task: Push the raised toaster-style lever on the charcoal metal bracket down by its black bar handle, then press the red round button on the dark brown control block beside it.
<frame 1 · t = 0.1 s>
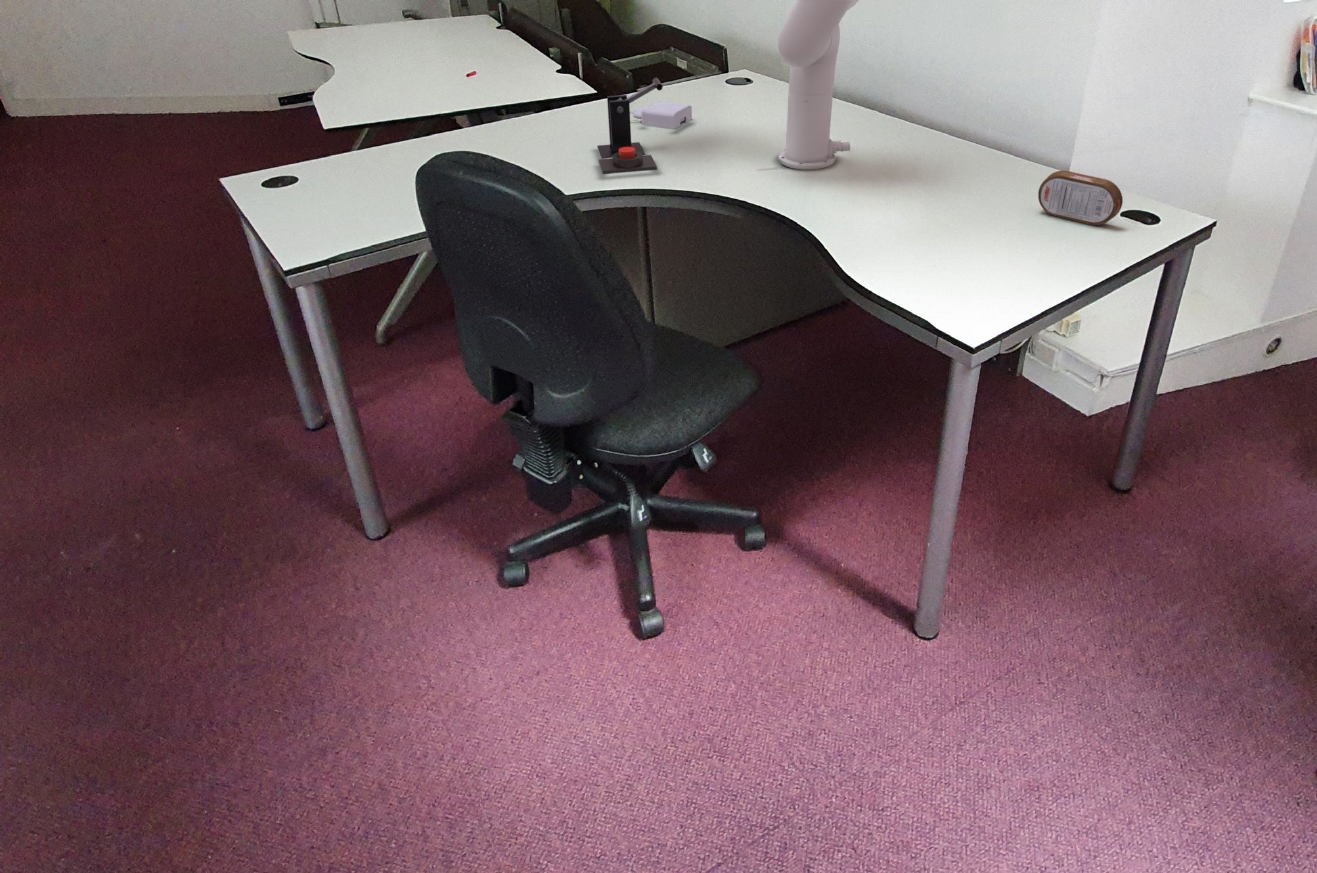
lever: (636, 96, 211), point 13 cm above the table, hinge at 25.0°
charger: (657, 125, 236), on the table
bracket: (621, 154, 218), on the table
control block: (627, 170, 209), on the table
button: (627, 153, 206), point 4 cm above the table, slide at 0.1 cm
tin: (1073, 220, 179), on the table
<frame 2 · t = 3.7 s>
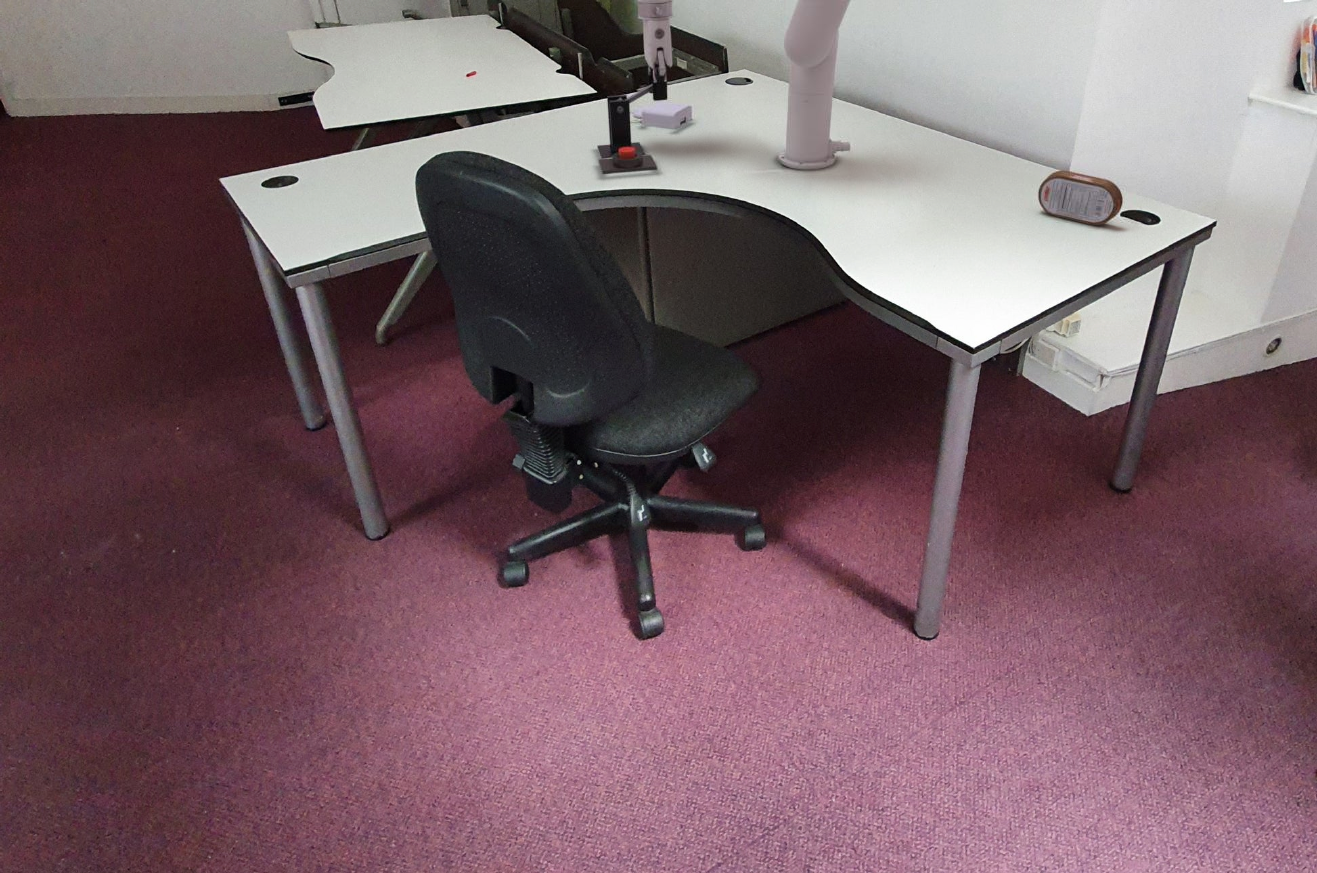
hand: (657, 95, 212), 13 cm above the table, tool pointing down, fingers closed on lever, 5 cm apart
lever: (636, 96, 211), point 13 cm above the table, hinge at 25.0°, touching gripper
everything else where it was.
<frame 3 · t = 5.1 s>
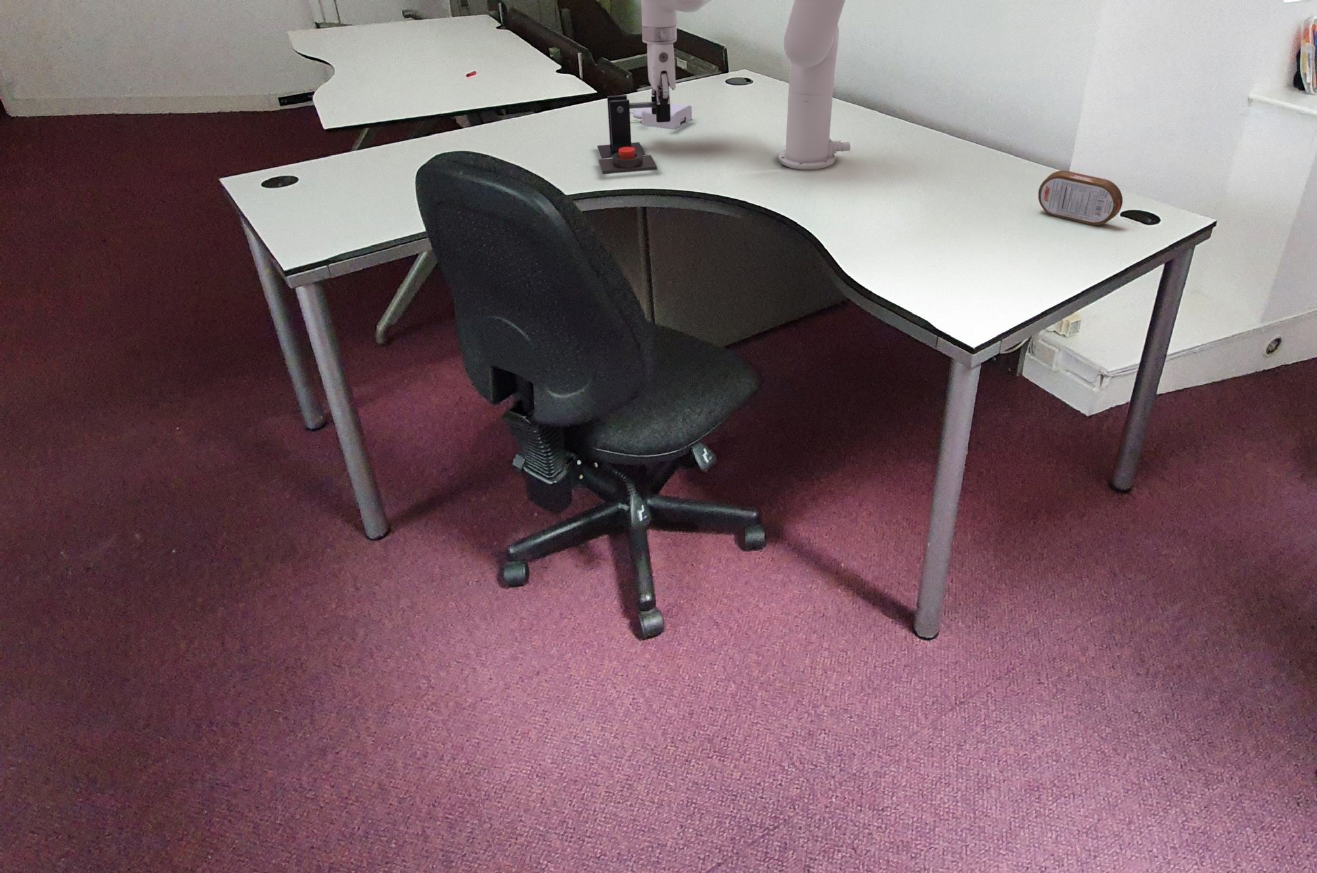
hand: (661, 117, 214), 8 cm above the table, tool pointing down, fingers closed on lever, 5 cm apart
lever: (638, 105, 212), point 11 cm above the table, hinge at -1.3°, touching gripper
everything else where it was.
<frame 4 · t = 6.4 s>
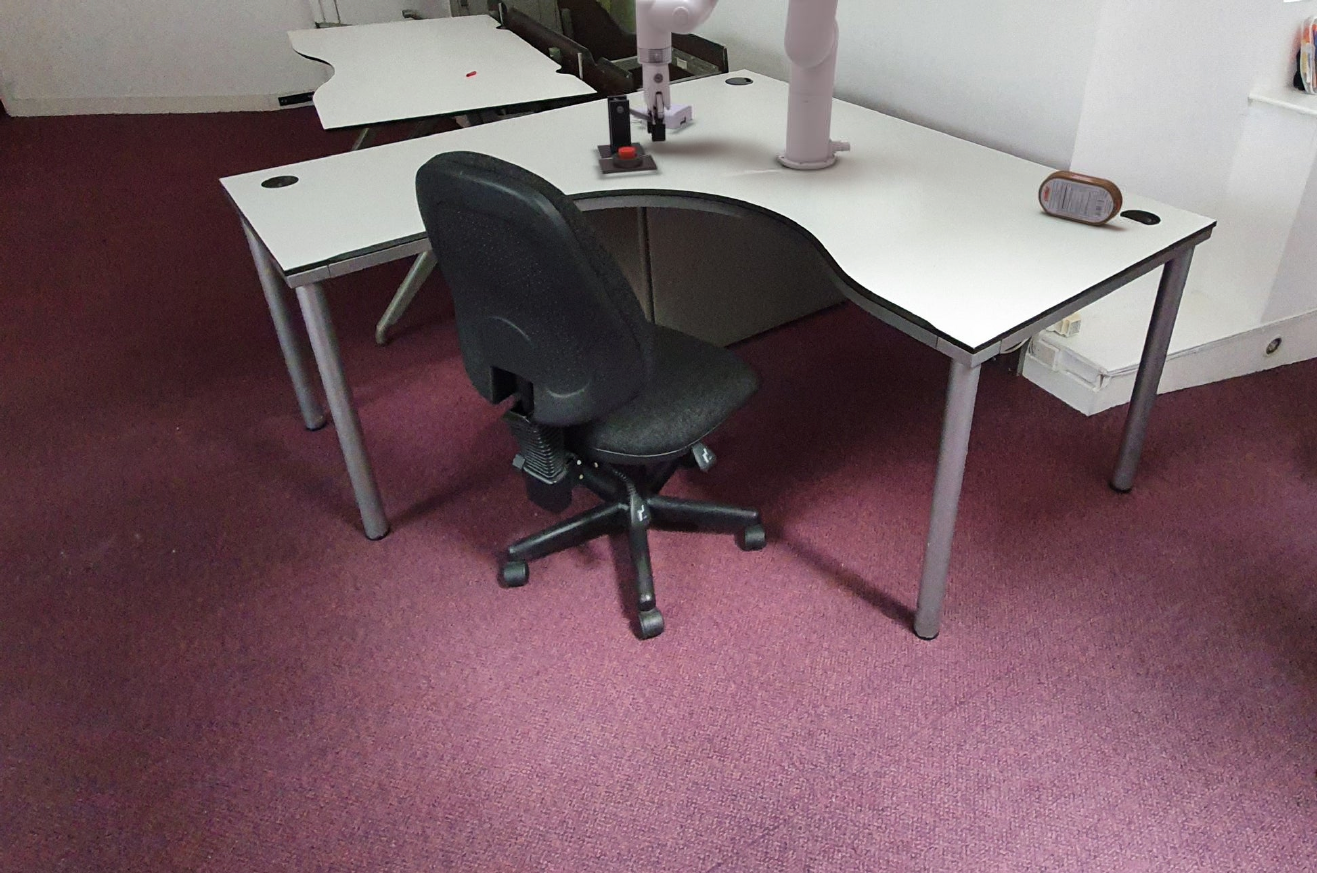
hand: (656, 136, 217), 4 cm above the table, tool pointing down, fingers closed on lever, 5 cm apart
lever: (637, 114, 213), point 9 cm above the table, hinge at -25.5°, touching gripper
everything else where it was.
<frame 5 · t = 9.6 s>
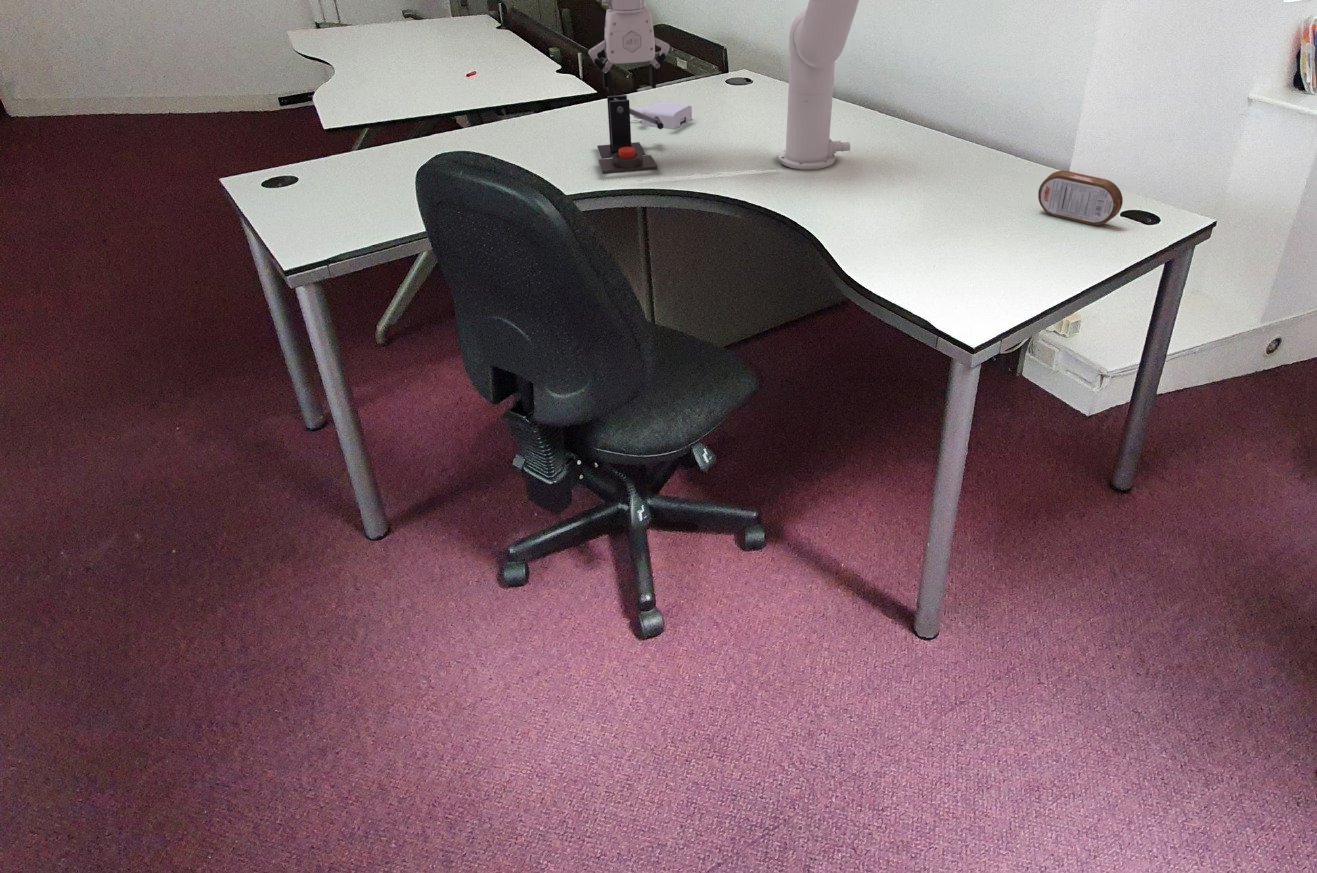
hand: (631, 88, 201), 17 cm above the table, tool pointing down, fingers open, 9 cm apart
lever: (637, 114, 213), point 9 cm above the table, hinge at -25.6°
everything else where it was.
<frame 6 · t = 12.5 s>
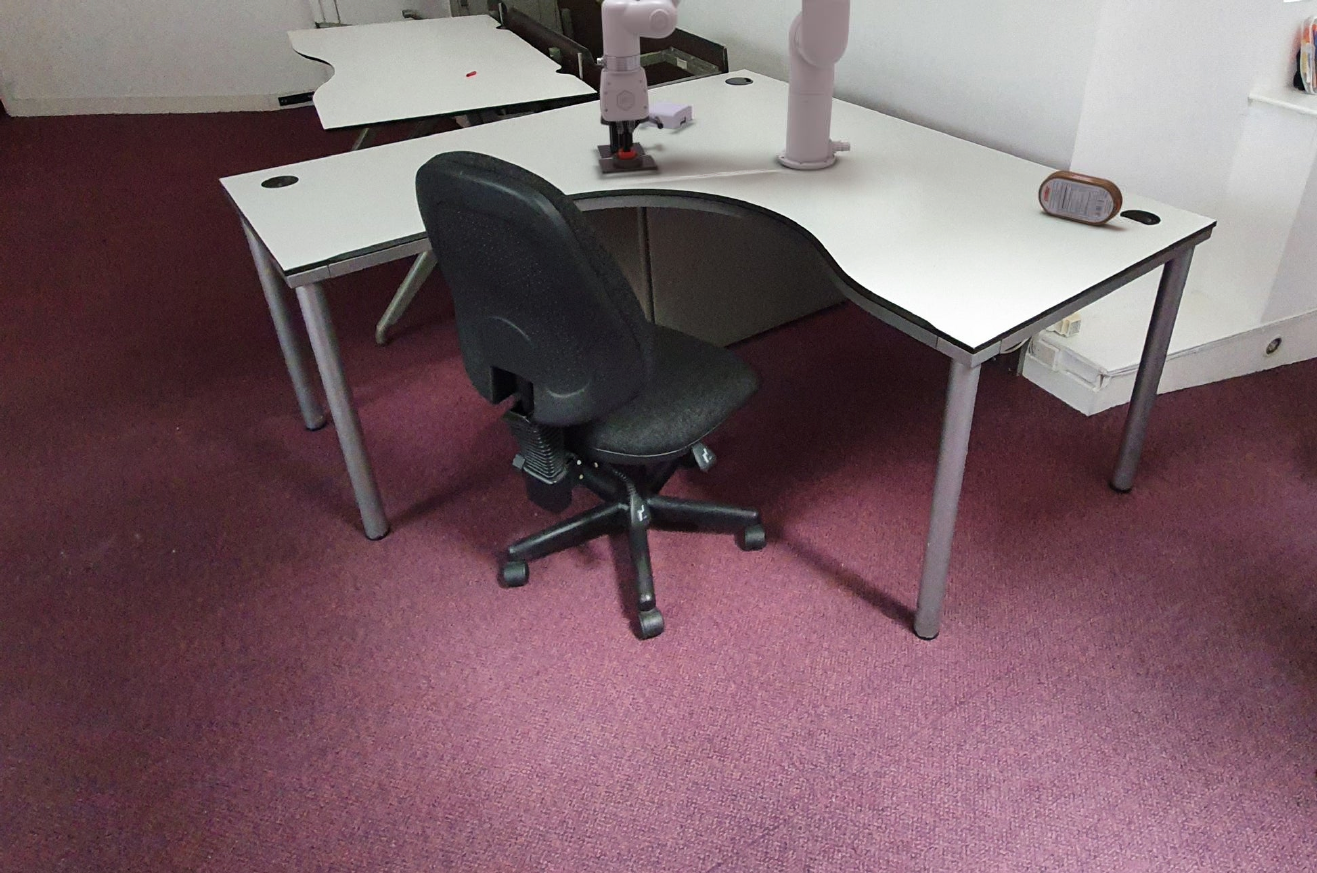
hand: (626, 149, 206), 5 cm above the table, tool pointing down, fingers closed
button: (627, 154, 206), point 4 cm above the table, slide at -0.1 cm, touching gripper
everything else where it was.
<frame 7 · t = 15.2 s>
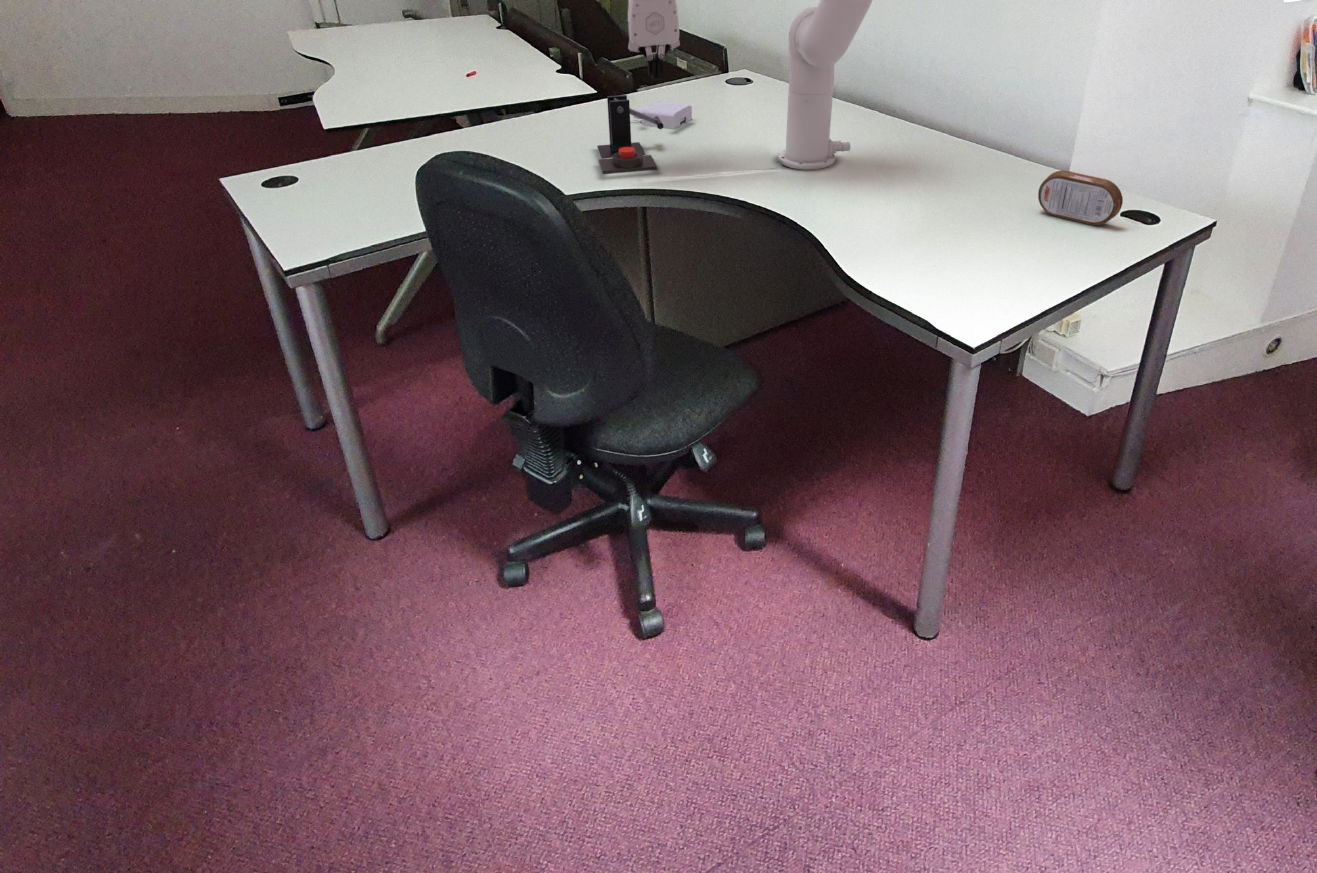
hand: (655, 78, 198), 20 cm above the table, tool pointing down, fingers closed
button: (627, 153, 206), point 4 cm above the table, slide at 0.1 cm
everything else where it was.
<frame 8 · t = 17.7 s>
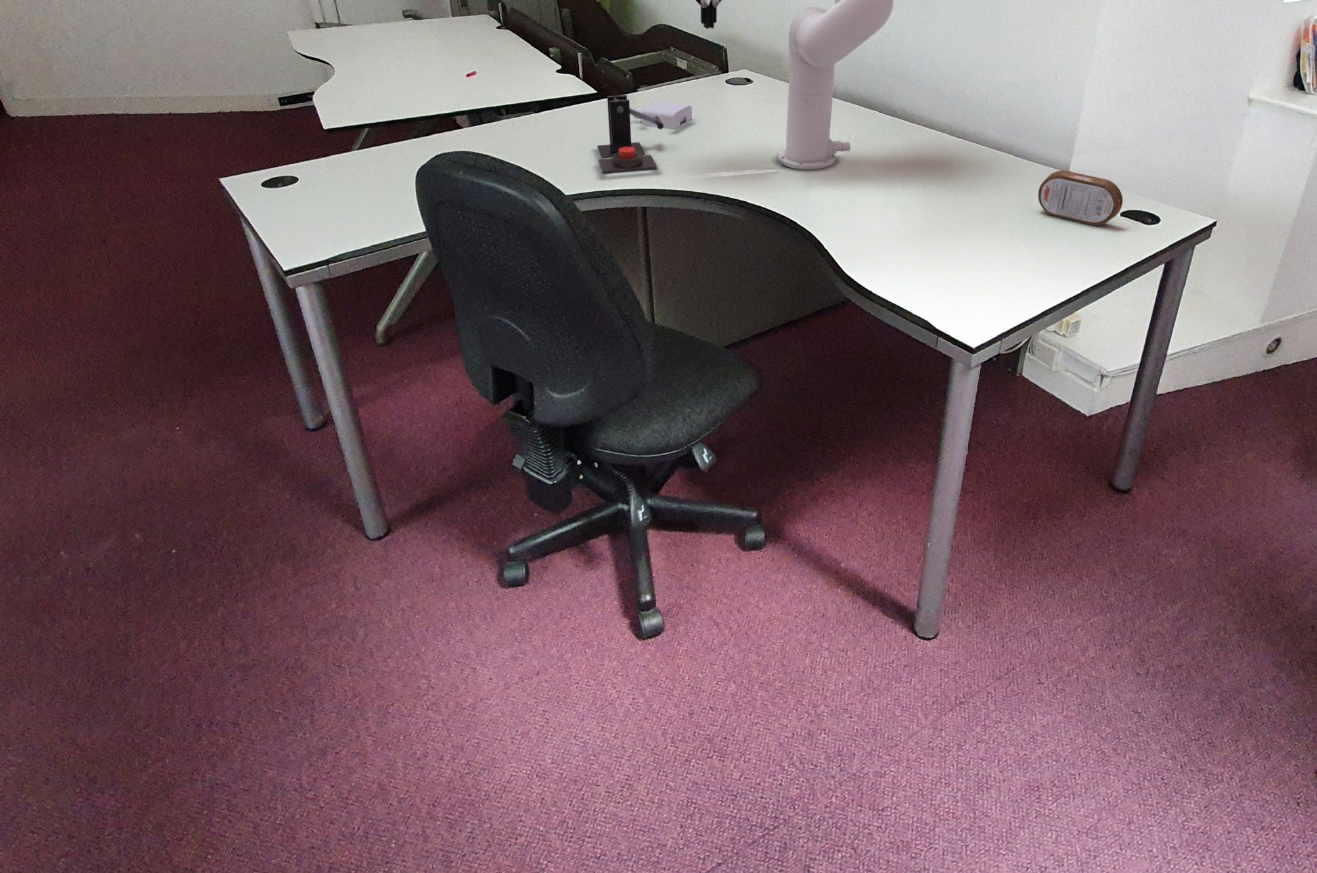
hand: (708, 27, 193), 29 cm above the table, tool pointing down, fingers closed
nothing on the table moved.
at the end: lever at -26° (first picture: +25°); button pushed in 1.3 cm at the most during the clip, back to where it started at the end; button slide at 0.1 cm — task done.
